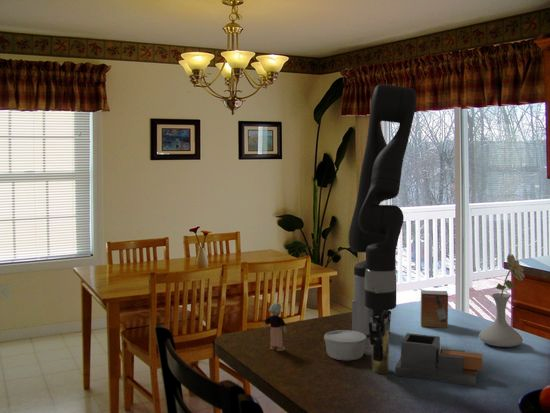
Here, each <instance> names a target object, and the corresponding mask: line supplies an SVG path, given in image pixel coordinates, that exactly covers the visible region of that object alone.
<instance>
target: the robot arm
mask: <svg viewBox="0 0 550 413" xmlns="http://www.w3.org/2000/svg"><path fill="white" fill-rule="evenodd" d="M416 107H417V93H416V90H415V89H414V88H412V87H407V86H400V85H394V84H393V85H391V84H384V83H383V84H381V83H380V84H377V85H376V86H375V88H374V90H373V92H372V96H371V103H370V110H369V112H370V113H369V119H368V127H367V128H368V129H367V136H366V143H365V144H366V145H365V149H364V153H363V154H364V155H363V158H362V164H361V167H360V168H361V169H360V175H359V181H358V182H359V184H358V189H357V197H356V202H355V207H354V209H353V214H352V218H351V222H350V226H349V230H348V231H349V232H348V246H349V249H350V250H351V251H352V252H354V253H365V260H362V261H361V262H358V263H356V264H355V265H354V269H353V299H352V300H351V302H352V303H351V321H352V322H351V331H357V332H361V333H363V334H365V335H366V336H369V343H370V345H371V346H372V345H373V359H374V360H375V361H382V360H383V344H384V343H383V340H384V336H385V335H386V329H388V330H389V335H390V334H391V329H390V328H391V319H392V318H391V315H392V312H391V311H392V310H394V309H395V308H396V307H397V273H396V262H397V261H396V257H397V256H396V253H397V246H398V242H399V238H400V235H401V232H402V230H403V225H404V219H405V217H404V214H403V211H402V209H401V208H400V207H399V206H397V205H394V204H381V203H382V202H384V201H389V200H392V199H395V198H396V197H398V195H399V192H400V186H401V178H402V170H403V163H404V158H405V154H406V152H407V151H406V150H407V147H408V142H409V139H410V136H411V131H412V125H413V122H414V116H415V112H416ZM381 122H387V123H388V122H390V123H395V124H399V126H398V129H397V131H396V133H395V134H394V136H393V137H392V138H391V140H390V141H389V142H388V143H387V142H386V140H385V136H384V134H383V130H382V129H383V128H382V123H381ZM381 331H383V332H381ZM375 337H377V338H378V340H375Z"/></svg>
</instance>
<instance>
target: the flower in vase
mask: <svg viewBox="0 0 550 413" xmlns="http://www.w3.org/2000/svg"><path fill="white" fill-rule="evenodd" d="M515 257H516V256H514V254H510V253H508V255H507V256H506V262H507V266H508V268H509V271H508V272H507V274H506V276H505V279H504V283H503V285H502V284H501V283H497V285H496V287H495V289H498V290H500V291H501V292H494V293H493V292H492V293H491V296H492V298H493V301H494V302H495V309H496V317H495V320H494V322H492V323H491V324H490V325H488V326H487V327H485V328H484V329H482V330H481V331H480V332H479V335H478V338H479V339H480V341H481V342H483V343H485V344H487V345H490V346H493V347H502V348H504V347H505V348H512V347H516V346H519V345H521V344H522V343H523V340H524V339H523V337H522V336H521V334H520V333H519V332H517V330H515V329H514V328H513V327H512V326H511V325H509V324H508V322H507V320H506V309H507V303H508V301H509V299H510V298H512V295H511V294H508V293H505V292H504V290H505V289H506V288H508V289H510V290H512V289H513V288H514V287H515V286H514V283H513V282H512V281H511V280H509V279H508V277H509V275H510V273H512V274H511V275H513V277H514V278H515V279H517V280H518V281H520V282H521V281H524V278H525V277H526V276H525V274H524V272H525V269H524V268H523V267H522V265H521V264H520V261H519V259H516V258H515Z"/></svg>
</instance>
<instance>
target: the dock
mask: <svg viewBox="0 0 550 413" xmlns="http://www.w3.org/2000/svg"><path fill="white" fill-rule="evenodd" d="M440 337H441V336H440V335H439V336H438V335H428V334H420V333H409V332H407V333H406V334H405V336H404V337H403V339H402V340H401V342H400V357H399V358H400V359H399V360H398V361H397V363H396V364H395V366H394V375H395V376H396V377H397V376H398V377H404V378H405V377H406V378H414V379H421V380H427V381H435V382H444V383H450V384H459V385H465V386H472V387H473V386H474V387H476V384H477V380H478V375H479V374H478V373H479V370H471V369H463V357H461V356H452V355H443V354H441V353H442V350H450V351H459V352H466V350H460V349H452V348H442V347H441V346H440V344H441V342H440V341H441V338H440Z"/></svg>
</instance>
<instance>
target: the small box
mask: <svg viewBox="0 0 550 413" xmlns="http://www.w3.org/2000/svg"><path fill="white" fill-rule="evenodd" d="M448 316H449V294H448V291H447V290H427V289H426V290H425V289H421V290H420V319H419V320H420V327H423V328H424V327H425V328H427V327H428V328H440V329H448V323H449V322H448V321H449V319H448V318H449V317H448Z"/></svg>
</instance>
